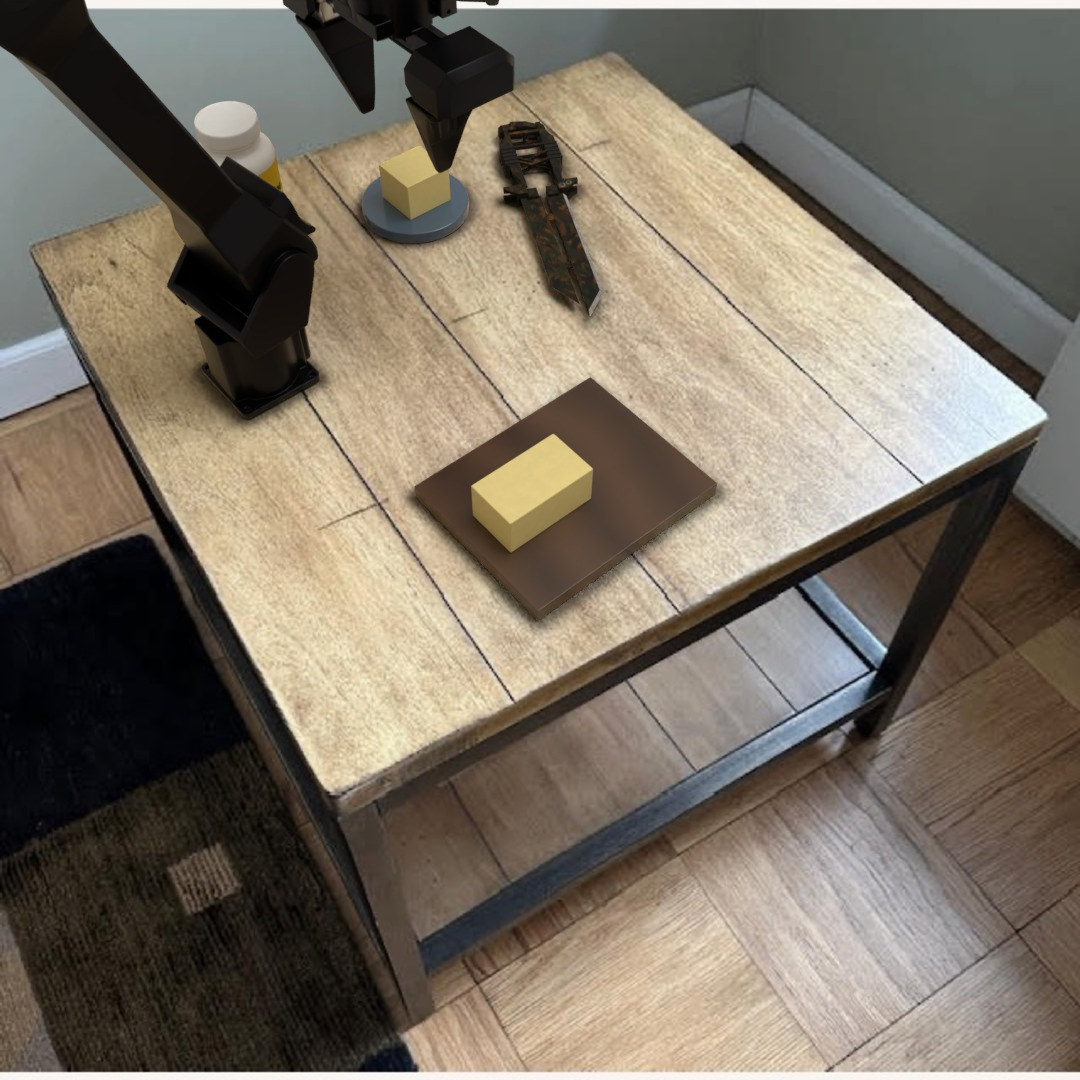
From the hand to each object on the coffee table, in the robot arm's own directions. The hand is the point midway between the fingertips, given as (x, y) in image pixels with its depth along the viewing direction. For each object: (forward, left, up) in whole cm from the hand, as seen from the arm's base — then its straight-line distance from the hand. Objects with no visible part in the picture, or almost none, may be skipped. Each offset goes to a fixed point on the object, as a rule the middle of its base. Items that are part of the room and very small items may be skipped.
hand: (404, 139), depth 79 cm
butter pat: (+5, +6, -11) cm, 13 cm away
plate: (+4, +6, -12) cm, 14 cm away
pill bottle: (-8, +12, -12) cm, 19 cm away
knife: (+13, -2, -12) cm, 18 cm away
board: (-6, -25, -12) cm, 29 cm away
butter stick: (-9, -25, -11) cm, 29 cm away
